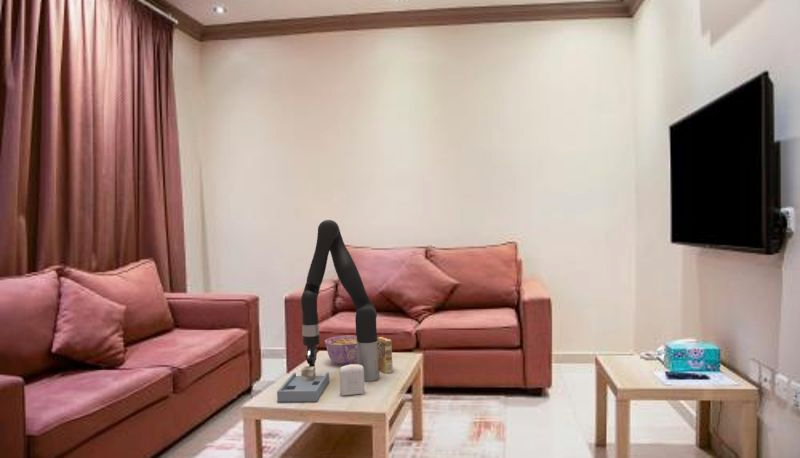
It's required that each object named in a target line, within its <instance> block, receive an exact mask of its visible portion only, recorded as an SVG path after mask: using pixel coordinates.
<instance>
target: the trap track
mask: <svg viewBox="0 0 800 458" xmlns="http://www.w3.org/2000/svg"><path fill="white" fill-rule="evenodd" d="M329 383H330V373H329V372H326V373H325V374H324V375H316V378H315V379H314V380H313V381H302V376H301V375H297V372H293V373H292V374H291V375H290V376H289V377H288V378H287V380H286V381H285V382H284V383H283V384H282V385H281V386H280V387H279V388H278V390H277V391H276V396H277V400H276V401H277V403H317V402H318V401H319V399H320V398H321V396H322V394H323V393H324V392H325V390H326V388H327V387H328V385H329Z"/></svg>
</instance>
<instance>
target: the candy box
mask: <svg viewBox="0 0 800 458" xmlns="http://www.w3.org/2000/svg"><path fill="white" fill-rule="evenodd" d="M377 345H378V356H379V372H382V373H383V374H390V373H393V372H394V369H393V367H394V366H393V350H392V349H393V347H392V339H390V338H386V337H384V336H379V337H378V336H377Z"/></svg>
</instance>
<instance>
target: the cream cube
mask: <svg viewBox="0 0 800 458" xmlns="http://www.w3.org/2000/svg"><path fill="white" fill-rule="evenodd" d="M300 371H301V373H300V374H301V375H300V376H302V381H313V380H314V379H315V378H316V376H317V375H316V366H309V365H308V366H306V365H305V366H303V367H302V368H301V369H300Z"/></svg>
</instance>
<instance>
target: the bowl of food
mask: <svg viewBox="0 0 800 458" xmlns="http://www.w3.org/2000/svg"><path fill="white" fill-rule="evenodd" d="M324 343H325V346H326V350H327V354H328V357H329V359H330V360H331V361H332V362H333V363H337V364H338V365H340V366H346V365H350V364H355V362H358V357H357V336H356V335H354V334H353V335H349V334H348V335H337V336H332V337H329V338H327V339H325V340H324Z"/></svg>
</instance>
